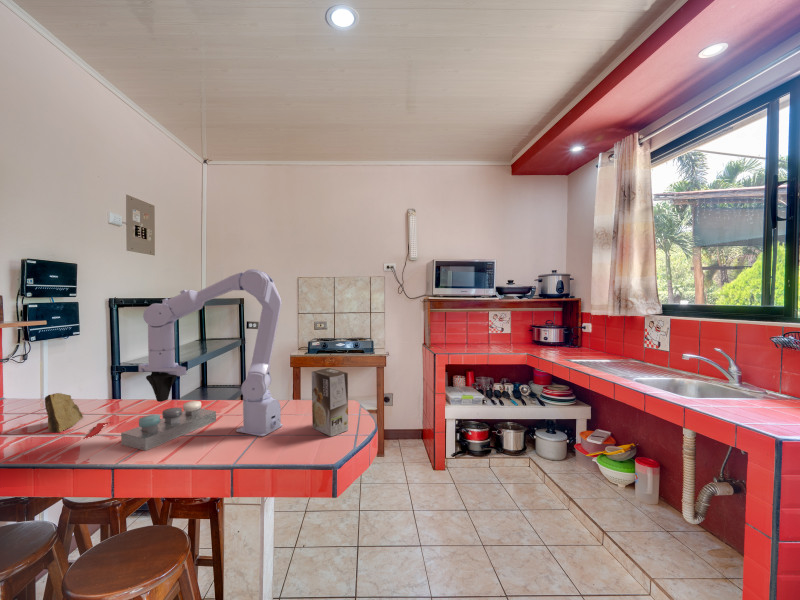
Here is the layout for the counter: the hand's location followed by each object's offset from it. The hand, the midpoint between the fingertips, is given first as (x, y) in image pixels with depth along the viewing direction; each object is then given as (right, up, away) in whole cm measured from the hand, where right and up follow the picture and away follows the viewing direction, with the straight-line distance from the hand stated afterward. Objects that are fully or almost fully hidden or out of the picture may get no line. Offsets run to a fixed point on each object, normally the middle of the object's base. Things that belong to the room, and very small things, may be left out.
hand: (162, 400), depth 92 cm
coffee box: (+43, -10, +5) cm, 45 cm away
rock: (-33, -10, +8) cm, 35 cm away
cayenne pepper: (-21, -10, +4) cm, 23 cm away
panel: (+1, -9, +3) cm, 10 cm away
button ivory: (+3, -7, +8) cm, 11 cm away
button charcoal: (+1, -7, +3) cm, 8 cm away
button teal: (-1, -7, -3) cm, 8 cm away
